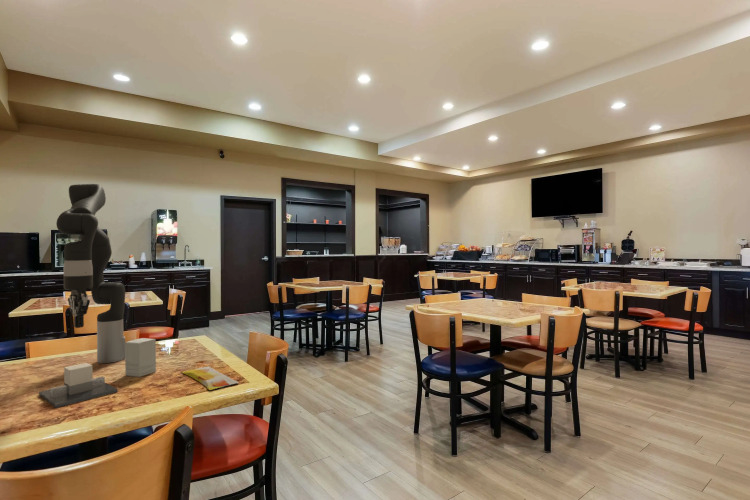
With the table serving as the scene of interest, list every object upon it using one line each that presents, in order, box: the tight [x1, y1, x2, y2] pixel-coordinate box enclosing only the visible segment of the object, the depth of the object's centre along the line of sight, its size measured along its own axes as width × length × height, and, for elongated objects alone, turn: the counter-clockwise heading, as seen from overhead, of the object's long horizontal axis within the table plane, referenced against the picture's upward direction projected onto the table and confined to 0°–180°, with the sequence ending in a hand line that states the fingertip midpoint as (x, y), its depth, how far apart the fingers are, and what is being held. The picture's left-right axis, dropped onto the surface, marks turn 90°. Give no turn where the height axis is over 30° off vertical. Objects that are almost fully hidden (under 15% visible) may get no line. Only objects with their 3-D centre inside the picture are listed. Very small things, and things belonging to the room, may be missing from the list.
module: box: [63, 362, 93, 395], centre depth 124 cm, size 6×6×8 cm
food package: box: [182, 366, 239, 391], centre depth 138 cm, size 27×2×10 cm
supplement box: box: [124, 337, 157, 378], centre depth 144 cm, size 7×7×13 cm
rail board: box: [38, 376, 118, 409], centre depth 124 cm, size 16×18×4 cm
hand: (78, 327), depth 124 cm, fingers closed
